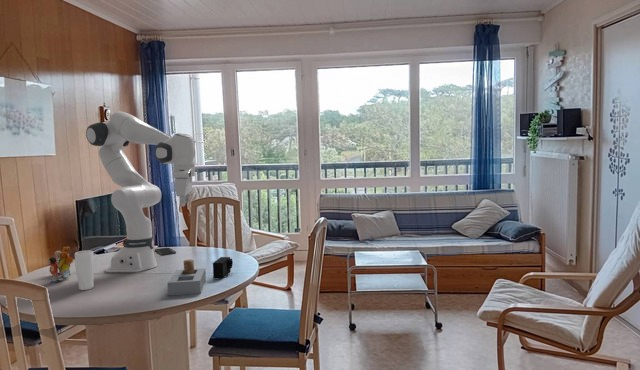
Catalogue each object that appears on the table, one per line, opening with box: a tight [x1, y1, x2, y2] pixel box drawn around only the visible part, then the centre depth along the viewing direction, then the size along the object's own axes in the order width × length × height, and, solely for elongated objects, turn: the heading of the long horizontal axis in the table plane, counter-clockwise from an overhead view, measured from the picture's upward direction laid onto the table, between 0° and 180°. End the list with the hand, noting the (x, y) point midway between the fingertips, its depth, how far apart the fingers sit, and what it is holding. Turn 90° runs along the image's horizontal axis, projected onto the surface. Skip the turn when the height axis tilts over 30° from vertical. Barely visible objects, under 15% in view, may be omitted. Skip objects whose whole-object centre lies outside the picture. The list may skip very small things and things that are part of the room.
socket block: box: [167, 267, 207, 296], centre depth 179 cm, size 12×18×5 cm, turn 8°
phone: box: [154, 247, 177, 257], centre depth 243 cm, size 8×1×15 cm
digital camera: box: [212, 256, 234, 280], centre depth 195 cm, size 10×5×7 cm, turn 173°
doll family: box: [48, 246, 75, 285], centre depth 197 cm, size 21×10×13 cm, turn 22°
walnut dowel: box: [183, 259, 195, 274], centre depth 183 cm, size 4×4×8 cm
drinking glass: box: [74, 249, 95, 291], centre depth 180 cm, size 7×7×15 cm
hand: (184, 204), depth 190 cm, fingers open, 8 cm apart
